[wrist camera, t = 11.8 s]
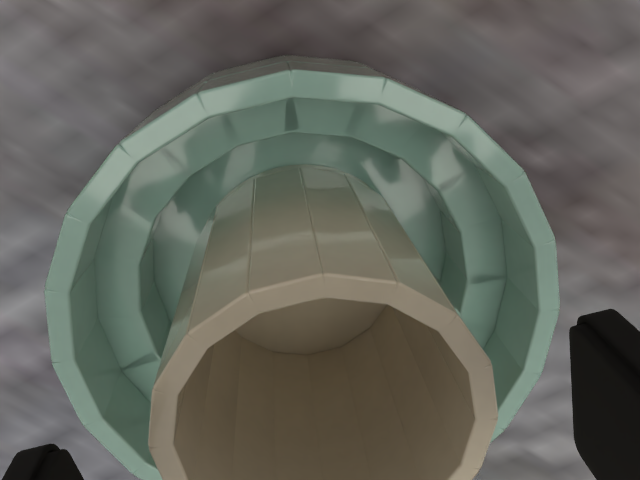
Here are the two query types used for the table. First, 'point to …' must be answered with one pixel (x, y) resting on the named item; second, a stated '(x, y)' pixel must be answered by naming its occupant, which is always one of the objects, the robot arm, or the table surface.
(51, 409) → the table surface
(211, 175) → the bowl
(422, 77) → the table surface
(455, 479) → the cup
